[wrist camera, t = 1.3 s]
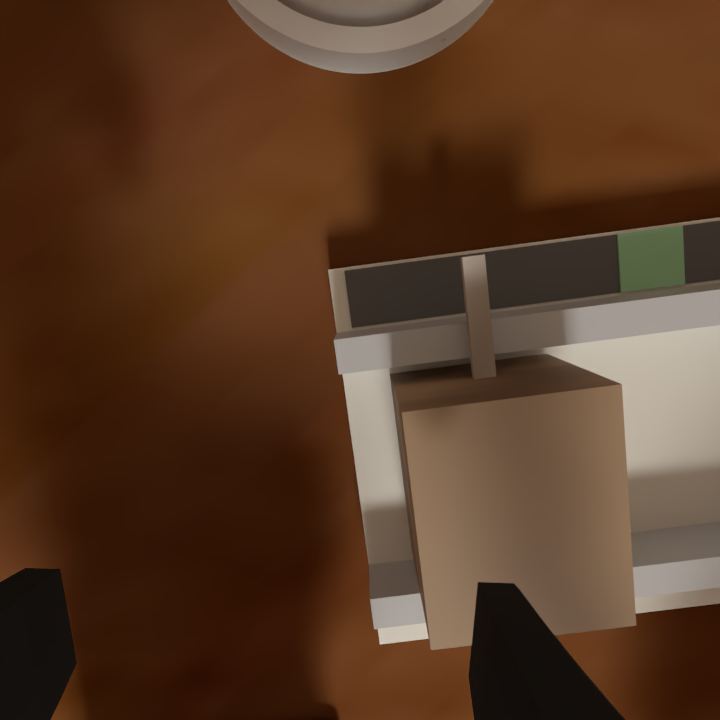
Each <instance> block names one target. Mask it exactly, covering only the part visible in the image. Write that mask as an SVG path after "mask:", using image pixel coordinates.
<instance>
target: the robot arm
mask: <svg viewBox="0 0 720 720" xmlns="http://www.w3.org/2000/svg"><path fill="white" fill-rule="evenodd" d="M76 663H77V662H76V657H75V651H74V646H73V640H72V634H71V629H70V623H69V617H68V612H67V606H66V600H65V595H64V589H63V584H62V578H61V572H60V569H35V568H25V569H23V570H21V571H19V572H18V573H16V574H14V575H12V576H10V577H9V578H7V579H5V580H4V581H2V582H0V720H50V719H51V717H52V715H53V713H54V711H55V709H56V707H57V705H58V703H59V701H60V699H61V697H62V694H63V692H64V690H65V688H66V685H67V683H68V681H69V679H70V677H71V674H72V672H73V670H74V668H75V665H76ZM469 682H470V690H471V698H472V705H473V713H474V720H625V719H624V718H623V716H622V715H621V714H620V713H619V712H618V711H617V710H616V708H615V707H614V706H613V705H612V704H611V703H610V702H609V701H608V699H607V698H606V697H605V696H604V695H603V693H602V692H601V691H600V690H599V689H598V688H597V686H596V685H595V684H594V683H593V682H592V680H591V679H590V678H589V677H588V676H587V675H586V673H585V672H584V671H583V670H582V669H581V667H580V666H579V665H578V664H577V663H576V661H575V660H574V659H573V658H572V656H571V655H570V654H569V653H568V652H567V650H566V649H565V648H564V647H563V645H562V644H561V643H560V641H559V640H558V639H557V638H556V636H555V635H554V634H553V633H552V631H551V630H550V629H549V627H548V626H547V625H546V624H545V622H544V621H543V620H542V618H541V617H540V616H539V614H538V613H537V612H536V610H535V609H534V608H533V607H532V605H531V604H530V603H529V601H528V600H527V599H526V597H525V596H524V595H523V593H522V592H521V591H520V589H519V588H518V587H517V586H516V585H515V584H514V583H490V582H478V585H477V596H476V606H475V617H474V627H473V637H472V648H471V658H470V669H469Z"/></svg>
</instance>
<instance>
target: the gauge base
mask: <svg viewBox="0 0 720 720" xmlns="http://www.w3.org/2000/svg"><path fill="white" fill-rule="evenodd" d="M483 254H485V261H486V272H487V282H488V293H489V303H490V314H491V324H492V335H493V345H494V356H495V360H500V359H508V358H516V357H523V356H531V355H539V354H549V355H551V356H554V357H556V358H559V359H561V360H564V361H566V362H568V363H571V364H573V365H576V366H578V367H581V368H583V369H586V370H588V371H591V372H593V373H596V374H598V375H600V376H603V377H605V378H608V379H610V380H613V381H615V382H618V383H620V384H622V395H623V411H624V428H625V445H626V461H627V478H628V495H629V511H630V528H631V545H632V561H633V578H634V595H635V611H636V613H645V612H653V611H661V610H670V609H678V608H686V607H695V606H703V605H711V604H720V217H719V218H711V219H704V220H696V221H689V222H681V223H674V224H666V225H659V226H651V227H644V228H636V229H629V230H621V231H614V232H606V233H599V234H591V235H584V236H576V237H569V238H561V239H554V240H546V241H539V242H532V243H524V244H517V245H509V246H502V247H494V248H487V249H479V250H472V251H464V252H457V253H449V254H442V255H434V256H427V257H419V258H412V259H404V260H397V261H389V262H382V263H374V264H367V265H359V266H352V267H344V268H337V269H329V270H328V273H329V280H330V287H331V295H332V302H333V309H334V316H335V323H336V331H337V333H336V336H335V338H334V345H335V352H336V359H337V366H338V373H339V374H343V381H344V388H345V396H346V403H347V410H348V417H349V425H350V432H351V439H352V446H353V453H354V461H355V468H356V475H357V482H358V489H359V497H360V504H361V511H362V518H363V526H364V533H365V540H366V547H367V554H368V562H369V582H370V602H371V609H372V617H373V624H374V629H378V634H379V641H380V644H387V643H395V642H404V641H412V640H420V639H429V637H428V632H427V627H426V621H425V616H424V611H423V606H422V601H421V595H420V590H419V585H418V580H417V574H416V569H415V564H414V559H413V554H412V548H411V540H410V532H409V524H408V516H407V508H406V500H405V492H404V484H403V476H402V468H401V460H400V452H399V444H398V437H397V429H396V421H395V413H394V405H393V397H392V389H391V381H390V374H392V373H400V372H408V371H415V370H423V369H431V368H438V367H446V366H454V365H462V364H469V363H471V360H470V350H469V340H468V330H467V320H466V311H465V301H464V291H463V281H462V271H461V262H460V258H461V257H468V256H476V255H483Z"/></svg>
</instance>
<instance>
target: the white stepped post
mask: <svg viewBox="0 0 720 720" xmlns="http://www.w3.org/2000/svg"><path fill="white" fill-rule="evenodd" d="M227 1H228V2H229V4H230V5H231V7H232V8H233V9H234V10H235V12H236V13H237V14H238V15H239V16H240V18H241V19H242V20H243V21H244V22H245V23H246V24H247V25H248V26H249V27H250V28H251V29H252V30H253V31H254V32H255V33H257V34H258V35H259V36H260V37H261V38H263V39H264V40H265V41H266V42H268V43H269V44H271V45H272V46H273V47H275V48H276V49H278V50H280V51H281V52H283V53H285V54H287V55H288V56H290V57H292V58H294V59H297V60H299V61H301V62H304V63H306V64H309V65H312V66H315V67H318V68H322V69H326V70H330V71H336V72H343V73H356V74H365V73H378V72H385V71H391V70H395V69H399V68H403V67H406V66H409V65H412V64H415V63H417V62H420V61H422V60H424V59H426V58H429V57H431V56H432V55H434V54H436V53H438V52H440V51H441V50H443V49H444V48H446V47H447V46H449V45H450V44H452V43H453V42H455V41H456V40H457V39H458V38H460V37H461V36H462V35H463V34H464V33H465V32H467V31H468V30H469V29H470V28H471V27H472V26H473V25H474V24H475V23H476V22H477V21H478V20H479V19H480V17H481V16H482V15H483V14H484V13H485V11H486V10H487V9H488V8H489V6H490V5H491V4H492V2H493V1H494V0H227Z"/></svg>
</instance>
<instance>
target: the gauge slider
mask: <svg viewBox="0 0 720 720" xmlns="http://www.w3.org/2000/svg"><path fill="white" fill-rule="evenodd" d="M460 262H461V271H462V281H463V291H464V301H465V311H466V320H467V330H468V340H469V350H470V360H471V363H469V364H462V365H454V366H446V367H438V368H431V369H423V370H415V371H408V372H400V373H392V374H390V381H391V389H392V397H393V405H394V413H395V421H396V429H397V437H398V444H399V452H400V460H401V468H402V476H403V484H404V492H405V500H406V508H407V516H408V524H409V532H410V540H411V548H412V554H413V559H414V564H415V569H416V574H417V580H418V585H419V590H420V595H421V601H422V606H423V611H424V616H425V621H426V627H427V632H428V637H429V642H430V647H431V650H437V649H445V648H453V647H462V646H470V645H472V637H473V627H474V617H475V606H476V596H477V585H478V582H490V583H514V584H515V585H516V586H517V587H518V588H519V589H520V591H521V592H522V593H523V595H524V596H525V597H526V599H527V600H528V601H529V603H530V604H531V605H532V607H533V608H534V609H535V610H536V612H537V613H538V614H539V616H540V617H541V618H542V620H543V621H544V622H545V624H546V625H547V626H548V627H549V629H550V630H551V631H552V633H553V634H554V635H562V634H570V633H578V632H587V631H595V630H603V629H612V628H620V627H628V626H636V611H635V595H634V578H633V561H632V545H631V528H630V511H629V495H628V478H627V461H626V445H625V428H624V411H623V395H622V384H620V383H618V382H615V381H613V380H610V379H608V378H605V377H603V376H600V375H598V374H596V373H593V372H591V371H588V370H586V369H583V368H581V367H578V366H576V365H573V364H571V363H568V362H566V361H564V360H561V359H559V358H556V357H554V356H551V355H549V354H539V355H531V356H523V357H516V358H508V359H500V360H495V356H494V345H493V335H492V324H491V314H490V303H489V293H488V282H487V272H486V261H485V254H483V255H476V256H468V257H461V258H460Z"/></svg>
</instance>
